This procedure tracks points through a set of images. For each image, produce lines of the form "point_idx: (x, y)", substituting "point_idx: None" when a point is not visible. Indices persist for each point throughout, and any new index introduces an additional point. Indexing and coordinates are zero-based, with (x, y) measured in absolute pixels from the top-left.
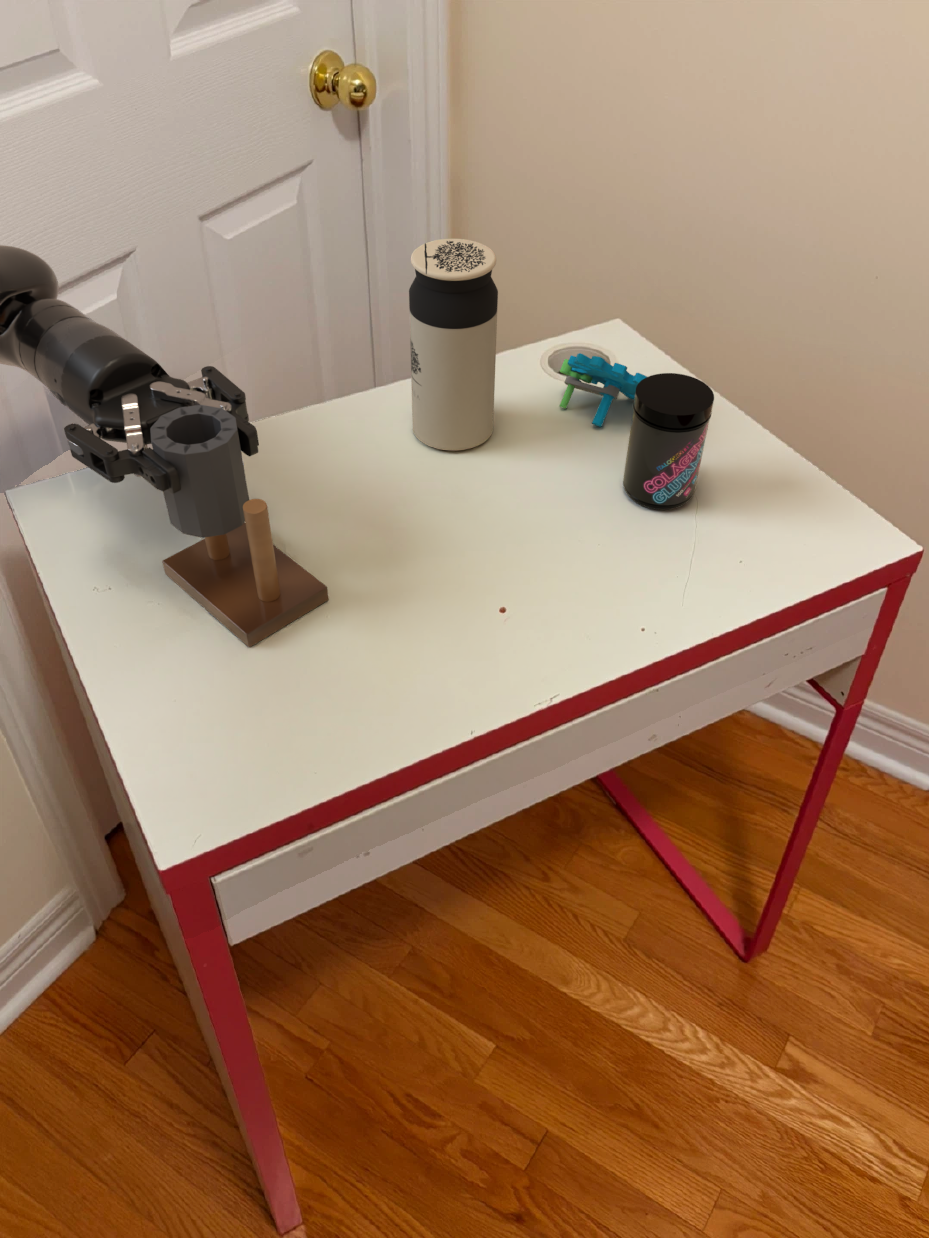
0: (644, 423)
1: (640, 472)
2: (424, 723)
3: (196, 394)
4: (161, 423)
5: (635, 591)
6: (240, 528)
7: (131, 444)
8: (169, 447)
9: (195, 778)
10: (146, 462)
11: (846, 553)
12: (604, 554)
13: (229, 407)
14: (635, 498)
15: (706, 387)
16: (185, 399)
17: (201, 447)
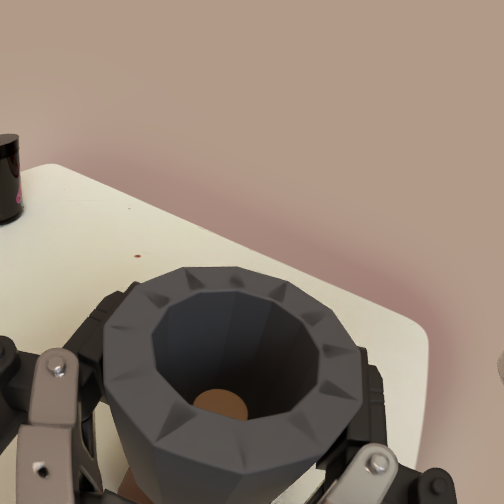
0: (6, 157)
1: (13, 194)
2: (262, 267)
3: (34, 443)
4: (282, 439)
5: (97, 213)
6: (136, 485)
7: (379, 480)
8: (343, 347)
9: (395, 347)
10: (373, 419)
11: (55, 170)
12: (65, 225)
13: (58, 349)
14: (15, 215)
15: None
16: (74, 473)
17: (287, 296)
